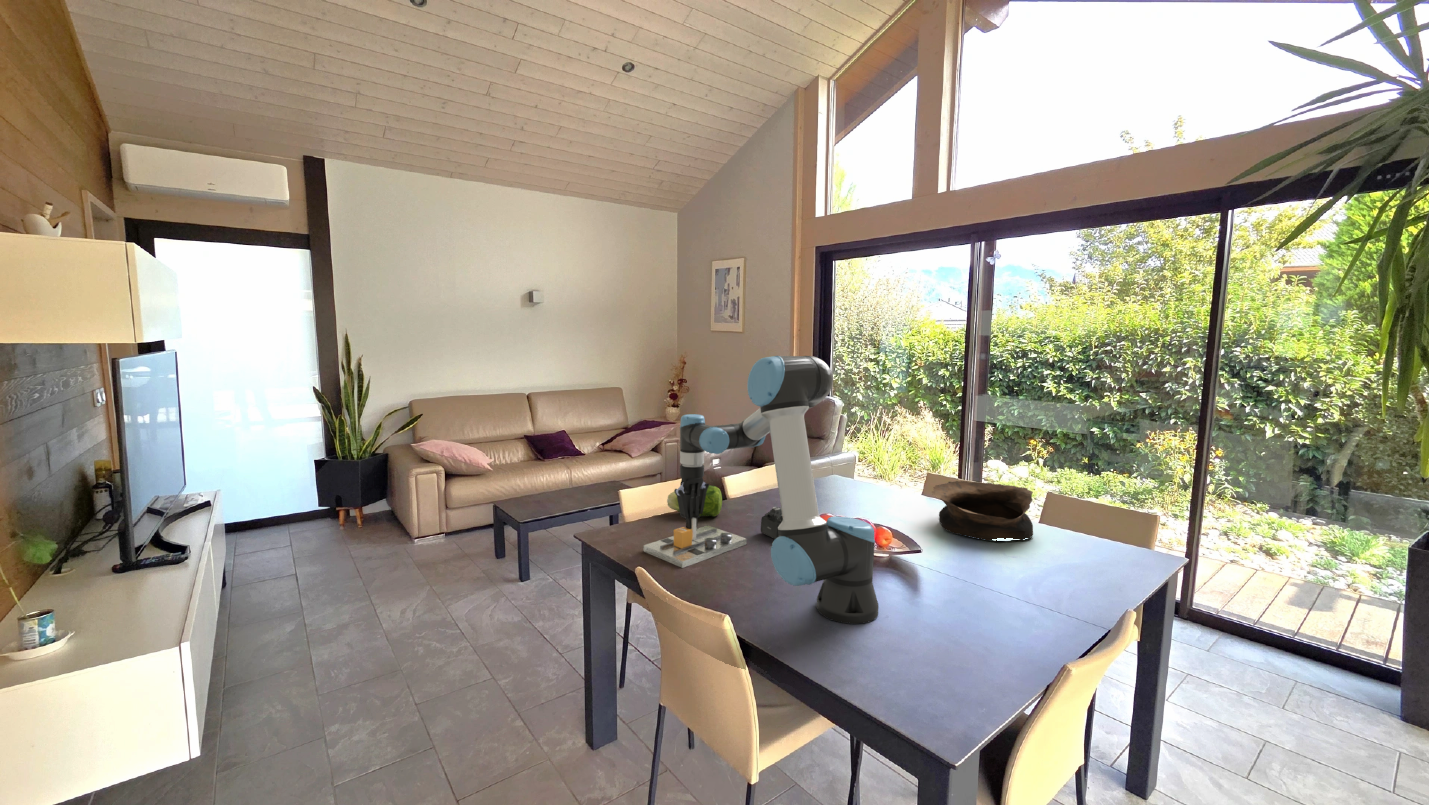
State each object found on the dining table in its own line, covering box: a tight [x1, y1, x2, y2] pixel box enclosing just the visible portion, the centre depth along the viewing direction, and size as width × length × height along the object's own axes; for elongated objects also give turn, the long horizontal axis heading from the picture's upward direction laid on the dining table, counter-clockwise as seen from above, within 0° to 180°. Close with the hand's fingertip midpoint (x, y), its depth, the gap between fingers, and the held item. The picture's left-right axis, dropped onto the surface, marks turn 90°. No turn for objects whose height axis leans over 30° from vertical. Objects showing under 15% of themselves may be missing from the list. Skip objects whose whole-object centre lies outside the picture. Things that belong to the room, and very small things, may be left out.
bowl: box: [931, 480, 1034, 542], centre depth 214 cm, size 34×33×15 cm
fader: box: [673, 526, 692, 548], centre depth 189 cm, size 4×4×5 cm
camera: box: [760, 506, 783, 540], centre depth 204 cm, size 13×10×10 cm
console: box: [643, 524, 748, 569], centre depth 193 cm, size 18×28×4 cm, turn 135°
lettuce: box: [666, 484, 723, 517], centre depth 227 cm, size 12×21×11 cm, turn 86°
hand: (691, 537), depth 192 cm, fingers closed
